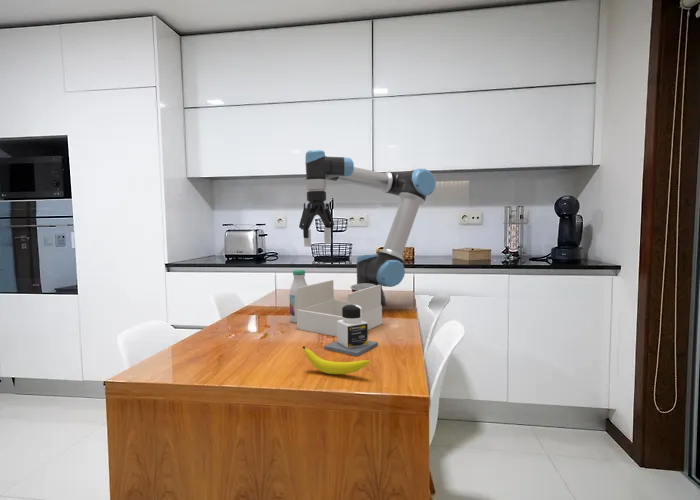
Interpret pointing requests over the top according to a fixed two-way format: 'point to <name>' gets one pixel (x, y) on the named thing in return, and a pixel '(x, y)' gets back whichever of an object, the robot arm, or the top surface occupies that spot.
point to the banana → (334, 364)
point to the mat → (350, 351)
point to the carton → (335, 307)
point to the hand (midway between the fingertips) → (318, 245)
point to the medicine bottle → (352, 327)
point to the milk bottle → (296, 293)
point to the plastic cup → (361, 287)
